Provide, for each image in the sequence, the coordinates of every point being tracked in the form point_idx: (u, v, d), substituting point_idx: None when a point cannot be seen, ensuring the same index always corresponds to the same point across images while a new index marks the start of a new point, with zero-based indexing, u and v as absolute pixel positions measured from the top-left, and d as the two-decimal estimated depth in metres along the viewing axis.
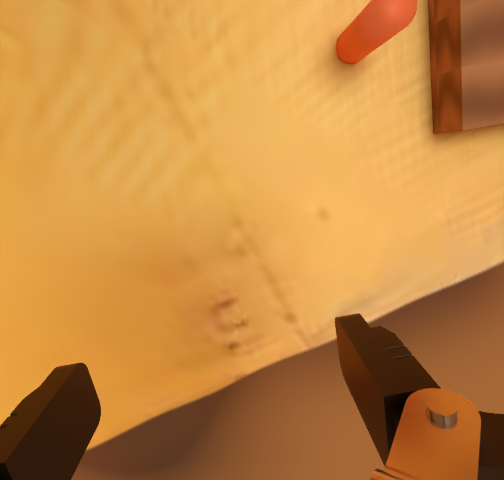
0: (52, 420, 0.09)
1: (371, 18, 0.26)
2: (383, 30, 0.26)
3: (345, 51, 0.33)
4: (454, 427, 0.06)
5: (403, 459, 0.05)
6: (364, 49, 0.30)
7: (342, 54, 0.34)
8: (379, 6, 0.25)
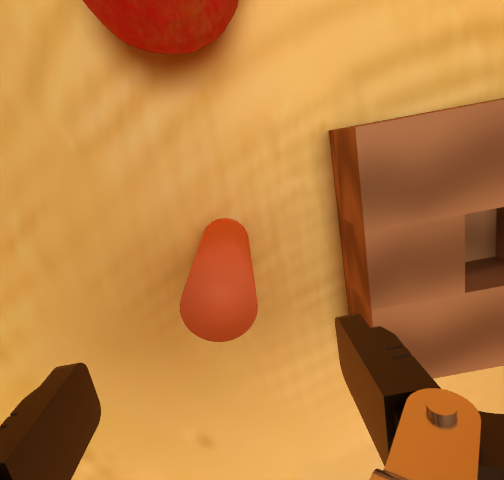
0: (52, 420, 0.09)
1: None
2: (204, 335, 0.15)
3: None
4: (454, 427, 0.06)
5: (403, 459, 0.05)
6: None
7: None
8: (189, 308, 0.14)
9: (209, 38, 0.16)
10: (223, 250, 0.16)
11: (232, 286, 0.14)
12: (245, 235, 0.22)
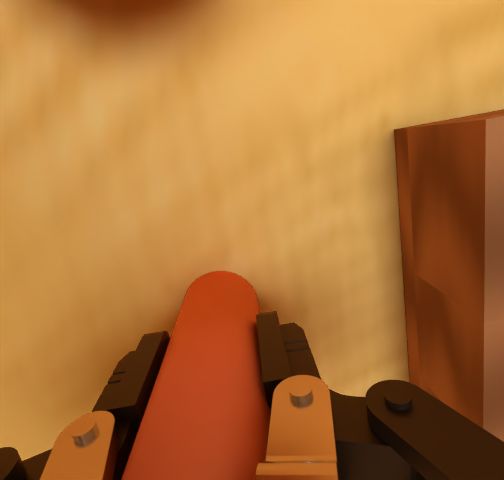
0: (155, 377, 0.10)
1: None
2: None
3: None
4: (304, 406, 0.07)
5: (279, 445, 0.06)
6: None
7: None
8: None
9: None
10: (210, 388, 0.07)
11: None
12: (254, 305, 0.13)
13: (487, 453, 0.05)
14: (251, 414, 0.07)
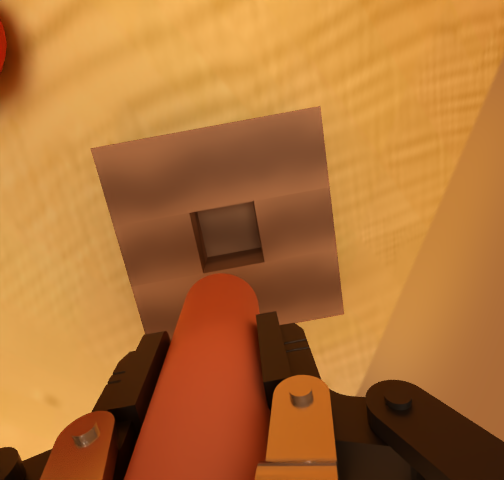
0: (155, 376, 0.10)
1: None
2: None
3: None
4: (304, 406, 0.07)
5: (279, 445, 0.06)
6: None
7: None
8: None
9: None
10: (211, 393, 0.07)
11: None
12: (254, 308, 0.13)
13: (487, 453, 0.05)
14: (252, 418, 0.07)
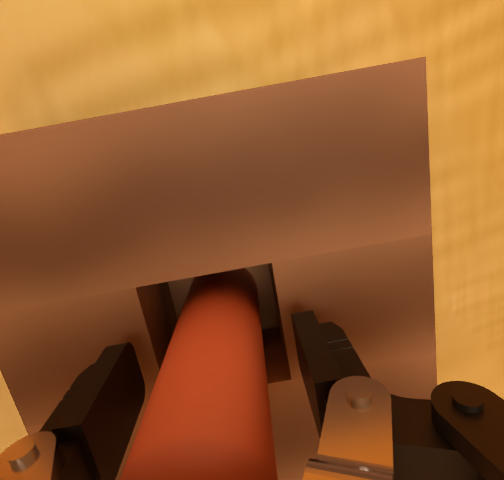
0: (111, 392, 0.09)
1: None
2: None
3: None
4: (366, 409, 0.07)
5: (332, 445, 0.06)
6: None
7: None
8: None
9: None
10: (213, 351, 0.09)
11: (227, 466, 0.06)
12: (253, 291, 0.14)
13: None
14: (247, 371, 0.09)
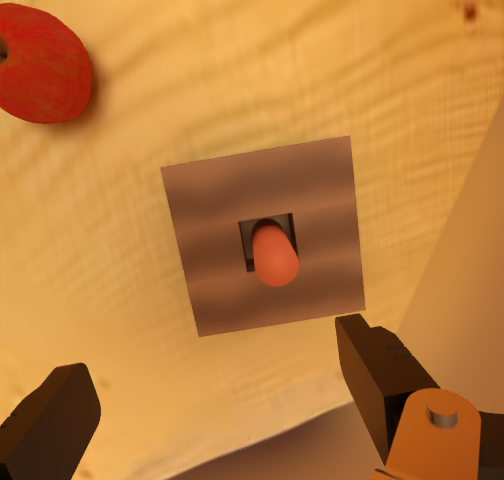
0: (52, 420, 0.09)
1: None
2: (266, 283, 0.25)
3: None
4: (454, 427, 0.06)
5: (403, 459, 0.05)
6: None
7: None
8: (260, 265, 0.25)
9: (67, 117, 0.27)
10: (275, 235, 0.27)
11: (285, 253, 0.24)
12: (282, 229, 0.32)
13: None
14: (287, 240, 0.27)
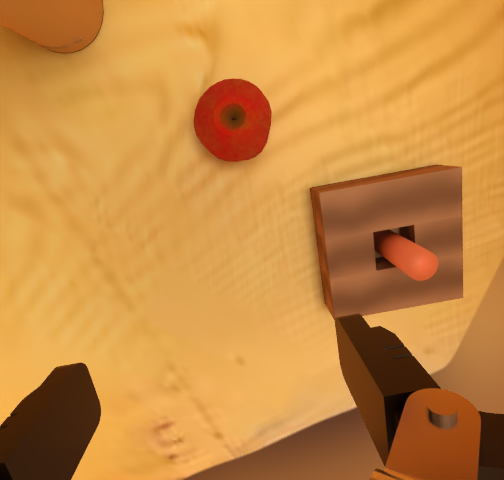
0: (52, 420, 0.09)
1: (404, 268, 0.35)
2: (412, 278, 0.35)
3: (378, 252, 0.42)
4: (454, 427, 0.06)
5: (403, 459, 0.05)
6: None
7: None
8: (410, 265, 0.34)
9: (254, 156, 0.37)
10: (412, 243, 0.36)
11: (429, 256, 0.34)
12: None
13: None
14: None
